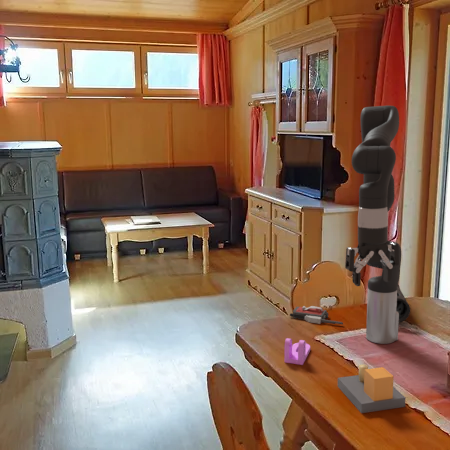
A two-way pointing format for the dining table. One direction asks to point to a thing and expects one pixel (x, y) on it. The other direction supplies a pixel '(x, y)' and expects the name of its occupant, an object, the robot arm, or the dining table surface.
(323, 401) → the dining table surface
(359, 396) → the mounting plate
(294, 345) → the bracket
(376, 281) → the robot arm
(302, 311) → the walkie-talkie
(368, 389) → the orange wooden cube
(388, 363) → the dining table surface
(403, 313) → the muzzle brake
